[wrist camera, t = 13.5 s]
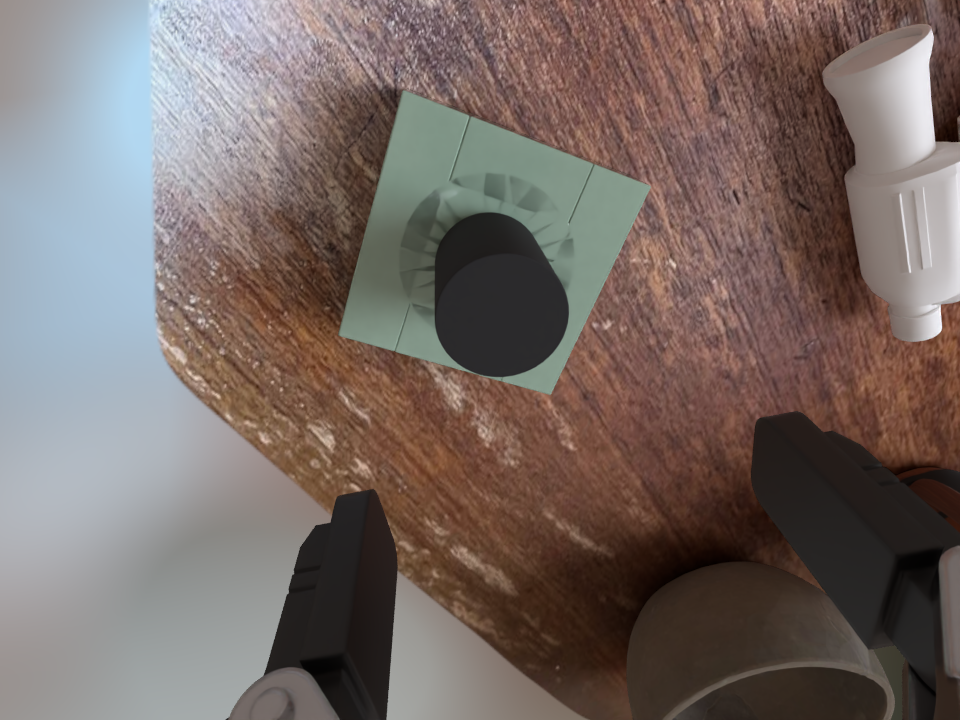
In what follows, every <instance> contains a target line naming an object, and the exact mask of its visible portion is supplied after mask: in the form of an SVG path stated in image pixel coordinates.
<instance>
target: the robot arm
mask: <svg viewBox="0 0 960 720" xmlns="http://www.w3.org/2000/svg"><path fill="white" fill-rule="evenodd" d="M751 482H752V487H753V490H754V493H755V495H756V498H757V500H758V501H759V503H760V505H761V506H762V508H763V509H764V510H765V512H766V513H767V514H768V516H769V517H770V518H771V520H772V521H773V522H774V524H775V525H776V526H777V528H778V529H779V530H780V532H781V533H782V534H783V536H784V537H785V538H786V540H787V541H788V542H789V544H790V545H791V546H792V548H793V549H794V551H795V552H796V553H797V555H798V556H799V557H800V559H801V560H802V561H803V563H804V564H805V565H806V567H807V568H808V569H809V571H810V572H811V573H812V575H813V576H814V577H815V579H816V580H817V581H818V583H819V584H820V585H821V587H822V588H823V589H824V591H825V592H826V593H827V595H828V596H829V598H830V599H831V600H832V602H833V603H834V604H835V606H836V607H837V608H838V610H839V611H840V612H841V614H842V615H843V616H844V618H845V619H846V620H847V622H848V623H849V624H850V626H851V627H852V628H853V630H854V631H855V632H856V634H857V635H858V636H859V638H860V639H861V640H862V642H863V643H864V645H865V646H866V647H867V649H868V650H871V649H877V648H882V647H887V646H894V645H895V646H896V647H897V649H898V650H899V651H900V652H901V654H902V655H903V656H904V657H905V662H904V664H903V670H902V686H903V687H902V693H903V694H902V705H903V707H902V710H903V711H902V713H903V715H902V717H903V719H902V720H960V532H958V531H957V530H956V529H955V528H954V527H953V526H952V525H951V524H949V523H948V522H947V521H946V520H945V519H944V518H943V517H942V516H940V515H939V514H938V513H937V512H936V511H935V510H934V509H933V508H931V507H930V506H929V505H928V504H927V503H926V502H925V501H923V500H922V499H921V498H920V497H919V496H918V495H917V494H916V493H914V492H913V491H912V490H911V489H910V488H909V487H908V486H907V485H905V484H904V483H900V482H899V478H898V477H896V476H895V475H894V474H893V473H892V472H891V471H890V470H888V469H887V468H886V467H882V465H881V462H879V461H878V460H877V459H876V458H875V457H874V456H873V455H872V454H870V453H869V452H868V451H867V450H866V449H865V448H864V447H863V446H861V445H860V444H858V443H856V442H854V441H852V440H850V439H848V438H846V437H844V436H842V435H840V434H838V433H836V432H834V431H828V432H822V431H821V430H820V429H819V428H818V427H817V426H816V425H815V424H814V423H813V422H812V421H811V420H810V419H809V418H808V417H807V416H805V415H804V414H803V413H801V412H798V411H795V412H789V413H784V414H779V415H773V416H768V417H762V418H759V419H758V420H757V422H756V425H755V433H754V444H753V455H752V467H751ZM396 582H397V553H396V547H395V543H394V539H393V536H392V533H391V531H390V528H389V525H388V522H387V519H386V517H385V514H384V511H383V508H382V505H381V503H380V500H379V497H378V495H377V493H376V491H375V490H374V489H371V490H366V491H360V492H355V493H350V494H344V495H339V496H338V497H337V499H336V502H335V506H334V510H333V514H332V519H331V523H327V524H322V525H316V526H315V528H314V529H313V530H312V532H311V533H310V534H309V536H308V537H307V539H306V540H305V542H304V543H303V544H302V546H301V547H300V550H299V554H298V557H297V561H296V564H295V568H294V575H292V579H291V583H290V586H289V594H287V596H286V600H285V604H284V607H283V611H282V614H281V618H280V622H279V625H278V629H277V632H276V636H275V639H274V643H273V646H272V650H271V654H270V657H269V661H268V664H267V668H266V670H265V673H264V676H263V677H261V678H260V679H259V680H257V681H256V682H255V683H254V684H252V685H251V686H250V687H249V688H248V689H247V690H246V692H244V694H243V695H242V696H241V697H240V699H239V700H238V702H237V703H236V705H235V706H234V708H233V710H232V712H231V714H230V717H229V718H227V719H226V720H386V717H387V703H388V690H389V676H390V663H391V649H392V636H393V623H394V610H395V595H396Z"/></svg>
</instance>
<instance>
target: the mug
mask: <svg viewBox="0 0 960 720" xmlns="http://www.w3.org/2000/svg"><path fill="white" fill-rule="evenodd" d="M896 477H898V478H899V482H900V483H904V484H905V485H907V486H908V487H909V488H910V489H911V490H912V491H913V492H914V493H916V494H917V495H918V496H919V497H920V498H921V499H922V500H923V501H925V502H926V503H927V504H928V505H929V506H930V507H931V508H933V509H934V510H935V511H936V512H937V513H938V514H939V515H940V516H942V517H943V518H944V519H945V520H946V521H947V522H948V523H949V524H951V525H952V526H953V527H954V528H955V529H956V530H957V531H958V532H960V472H958V471H954V470H946V469H941V468H935V467H924V468H917V469H913V470H909V471H906V472H903V473H901V474H899V475H896Z"/></svg>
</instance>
